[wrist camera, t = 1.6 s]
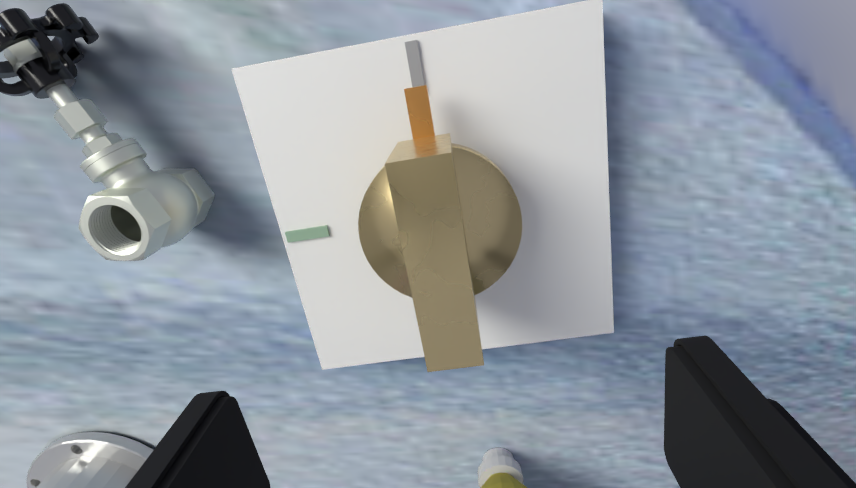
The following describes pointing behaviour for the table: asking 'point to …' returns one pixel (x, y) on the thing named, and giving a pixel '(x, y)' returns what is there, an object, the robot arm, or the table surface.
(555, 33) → the base plate
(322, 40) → the table surface
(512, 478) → the light bulb
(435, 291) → the knob
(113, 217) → the valve
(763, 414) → the robot arm
